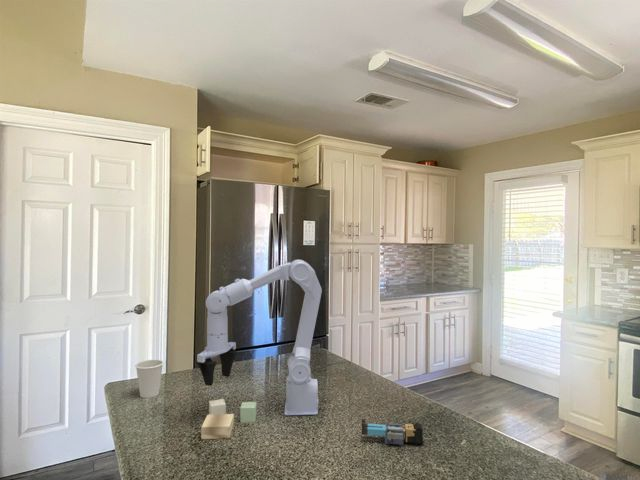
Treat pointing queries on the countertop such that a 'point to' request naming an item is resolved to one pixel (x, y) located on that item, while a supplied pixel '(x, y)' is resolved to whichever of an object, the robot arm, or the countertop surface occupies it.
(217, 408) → the ivory block
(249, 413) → the sage block
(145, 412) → the countertop surface
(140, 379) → the dixie cup
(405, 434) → the toy
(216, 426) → the maple block
